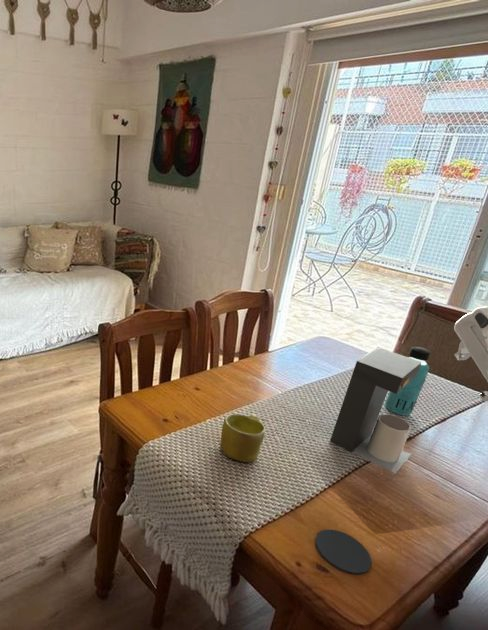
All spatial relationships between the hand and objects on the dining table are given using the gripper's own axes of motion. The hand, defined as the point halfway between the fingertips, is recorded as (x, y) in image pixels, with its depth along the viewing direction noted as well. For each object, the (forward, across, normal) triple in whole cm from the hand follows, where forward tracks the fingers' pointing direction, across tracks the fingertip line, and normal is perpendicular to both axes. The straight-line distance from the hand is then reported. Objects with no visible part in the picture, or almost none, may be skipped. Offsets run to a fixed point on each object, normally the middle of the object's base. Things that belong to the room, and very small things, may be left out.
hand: (471, 377), depth 93 cm
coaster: (+5, -31, +36) cm, 47 cm away
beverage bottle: (+33, +5, -3) cm, 34 cm away
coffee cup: (+20, -9, +12) cm, 26 cm away
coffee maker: (+22, -8, +14) cm, 27 cm away
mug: (+18, -7, +45) cm, 49 cm away
